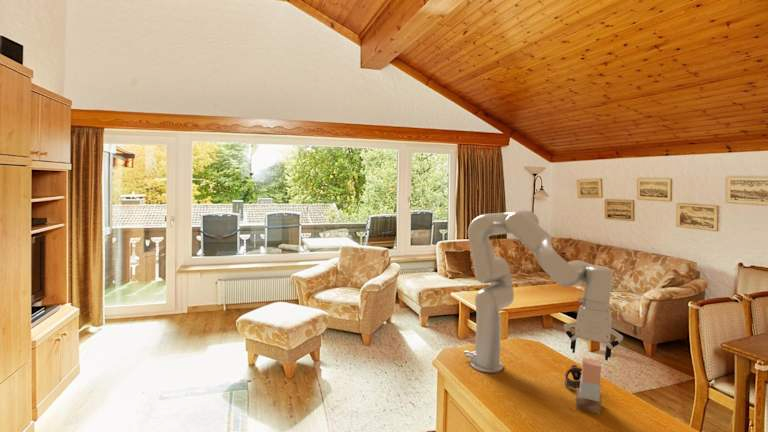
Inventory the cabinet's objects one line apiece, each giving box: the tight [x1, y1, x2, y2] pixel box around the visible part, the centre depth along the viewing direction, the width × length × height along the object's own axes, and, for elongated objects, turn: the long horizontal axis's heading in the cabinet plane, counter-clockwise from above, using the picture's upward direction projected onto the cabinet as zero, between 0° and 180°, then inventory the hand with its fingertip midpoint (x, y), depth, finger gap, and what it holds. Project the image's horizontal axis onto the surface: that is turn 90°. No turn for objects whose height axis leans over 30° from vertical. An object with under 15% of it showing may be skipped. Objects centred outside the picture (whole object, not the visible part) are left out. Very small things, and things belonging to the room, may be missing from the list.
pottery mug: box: [564, 364, 582, 389], centre depth 150 cm, size 12×10×8 cm
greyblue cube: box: [579, 376, 602, 402], centre depth 136 cm, size 6×6×6 cm
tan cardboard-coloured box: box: [575, 388, 602, 415], centre depth 137 cm, size 7×7×4 cm
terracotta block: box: [581, 357, 602, 385], centre depth 136 cm, size 5×5×6 cm
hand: (589, 355), depth 136 cm, fingers open, 9 cm apart
